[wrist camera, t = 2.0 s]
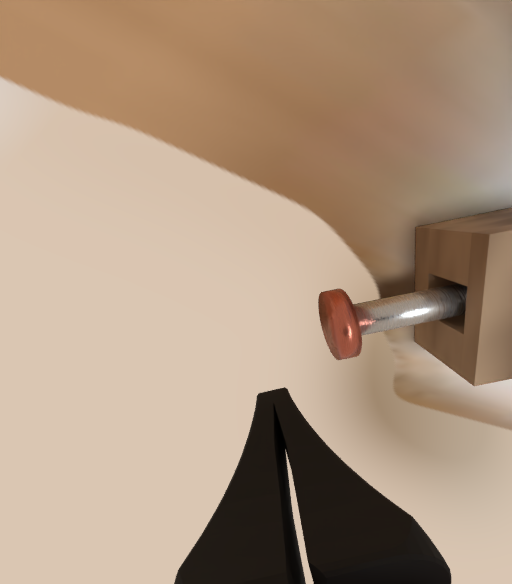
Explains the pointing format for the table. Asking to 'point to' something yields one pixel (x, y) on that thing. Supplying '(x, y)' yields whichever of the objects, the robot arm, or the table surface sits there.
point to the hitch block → (470, 293)
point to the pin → (383, 314)
